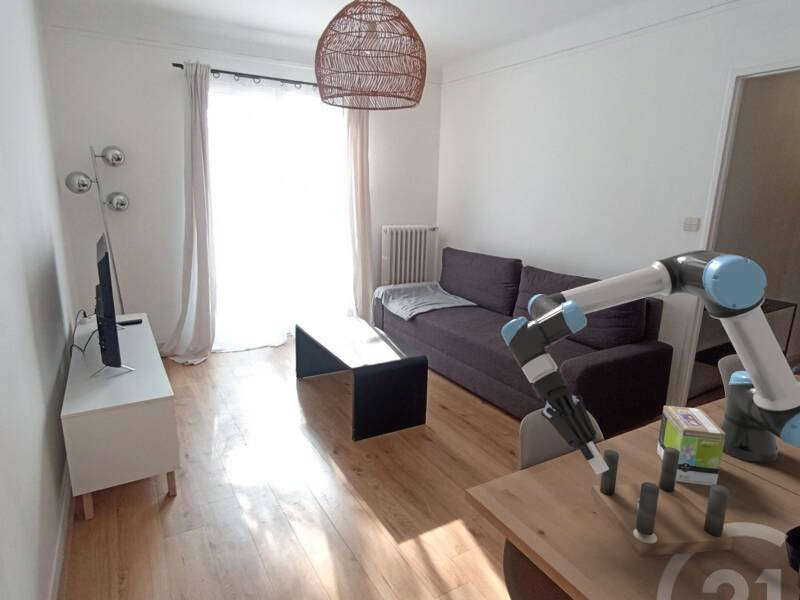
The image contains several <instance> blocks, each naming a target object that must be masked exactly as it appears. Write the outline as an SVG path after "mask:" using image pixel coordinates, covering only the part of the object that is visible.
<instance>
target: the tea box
mask: <svg viewBox="0 0 800 600" xmlns="http://www.w3.org/2000/svg"><path fill="white" fill-rule="evenodd" d="M661 414H662V415H661V422H660V429H659V435H658V442H657V449H656V453H657V454H658V456H659V457H660V458H661V460H662V461H663V454H664V448H666V447H671V448H675V449H677V450H678V451H679V452H680V454H679V461H678V468H677V474H676V481H675V482H680V483H685V484H687V483H688V484H693V485H703V486H710V487H711V485H713V484H717V483H718V478H719V473H720V472H719V471H720V467H721V461H722V457H723V446H724V441H725V433H724V432H723V431H722V430H721V429H720V427H719V425H718V424H717V423H715V422H714V421H713V419H712V418H711V417H710V416H708V414H707V413H706V412H705V411H704V410H703V409H702V408H694V407H684V406H683V407H682V406H674V405H673V406H672V405H663V409H662V413H661ZM717 485H718V484H717Z"/></svg>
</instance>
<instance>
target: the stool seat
mask: <svg viewBox="0 0 800 600" xmlns="http://www.w3.org/2000/svg"><path fill="white" fill-rule="evenodd" d="M679 454H680V452H679V451H678V450H677V449H675V448H671V447H666V448H664V454H663V460H662V461H661V462H662V463H661V467H660V468H661V470H660V476H659V482H658V481H657V482H652V483H653V484H655V485H657V486H658V487H659V496H658V503H657V510H656V517H655V524H654V531H653V534H652V535H651V537H650V536H646V535H643V534H639V533H638V531H637V529H636V523H637V499H639V498H640V493H641V485H642V483H643V482H640V483H622V484H616V483H617V476H618V475H617V474H618V467H619V466H618V465H619V458H620V455H619V453H618V452H617V451H615V450H614V449H613V450H611V449H606V450H604V451H603V456H602V458H603V459H604V461H605V463H606V464H607V466H608V467H609V469H608V470H607V471H605V472H602V473H601V476H600V484H599V485H592V486H591V492H590V496H591V497H592V499H593V500H594V501H595V502H596V504H597V505H598V506H599V507H600V508H601V510H602V511H603V512H604V513H605V515H606V516H607V517H608V519H609V520H610V521H611V522H612V524H614V526H615V528H617V530H618V531H619V532H620V534H621V535H622V536H623V538H624V539H625V540H626V541H627V542H628V544H629V545H630V546H631V547H632V549H633V550H634V551H635V552H636V554H637V555H638V556H639V557H643V556H657V555H658V556H659V555H672V554H674V555H675V554H687V553H689V554H690V553H703V552H714V551H715V552H716V551H717V552H718V551H731V550H732V548H733V542H734V539H733V538H732V536H730V535H729V534H728V533H727V532H726V531H725V530H724V526H725V525H724V524H725V520H726V519H725V518H726V514H727V508H728V502H729V496H730V490H729V489H728V488H727V487H725V486H724V485H721V484H713V485H711V486H710V487H709V488H710V489H709V494H708V500H707V506H706V507H707V508H706V513H705V512H704V511H703V510H701V508H699V507H698V506H697V505H696V504H695V503H694V502H693V501H691V500H690V498H688V497H687V495H685V494H683V492H681V491H680V490H679V489H678V488H677V487H676V482H677V481H676V474H677V468H678V461H679Z"/></svg>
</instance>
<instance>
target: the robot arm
mask: <svg viewBox="0 0 800 600" xmlns="http://www.w3.org/2000/svg"><path fill="white" fill-rule="evenodd" d="M767 284H768V283H767V277H766V273H765V272H764V270H763V268H762V267H761V266H760V265H759V264H757V262H755V261H754V260H751V259H749V258H747V257H744V256H741V255H738V254H727V253H721V252H717V251H716V252H715V251H711V250H706V249H704V250H703V249H699V250H692V251H686V252H682V253H680V254H675V255H671V256H669V257H666V258H662V259H658V260H655V261H653V262H652V263H651V265H649V266H647V267H645V268H640V269H638V270H634V271H633V270H632V271H631V272H630V271H629V272H627V273H623V274H619V275H617V276H613V277H610V278H605V279H602V280H598V281H596V282H591V283H588V284H585V285H580V286H578V287H574V288H571V289H567V290H564V291H560V292H556V293H552V294H543V293H539V294H536V295H533V297H531V298H530V300H529V301H528V304H527V311H528V314H529V315H530V317H531V320H529V319H528V318H527V317H525V316H518V317H517V318H514V319H512V320H510V321H508V322H507V323H506V324H504V326H503V327H502V329H501V336H502V338H503V340H504V341H505V344H506V346H507V347H508V349H509V351H510V352H511V354H512V355H513V357H514V359H515V360H516V362H517V363H518V366H519V367H520V369H521V370H522V371H523V374H524V375H525V377H526V379H527V380H528V382H529V383H530V384H532V385H531V386H532V387H531V388H532V389H533V391H534V392H535V394H536V396H537V398H538V399H542V401H543V404H544V410H542V411H541V413H540V414H541V416H542V417H543V418H544V419H546V420H547V421H548V422H549V423H550V424H551V425H552V427H553V428H554V429H555V430H556V432H557V433H559V435H560V436H561V437H562V438H563V440H564V441H565V442H566V444H567V445H568V446H569V447H570V448H572V447H573V448H574V449H579V450H580V452H581V454H582V455H583V456H584V459H585V461H588V463H589V464H590V466H591V467H592V470H593V471H594V473H595V474H596V476H598V475H600V474H602V472H605V471H607V470H608V469H609V467H608V466H607V464H606V463H605V461H604V459H603V456H602V454H601V451H600V449H599V448H598V447H597V444H596V443H595V442H594V440H596V438H597V437H596V436H597V432H596V429H595V427H594V425H593V423H592V420H591V419H590V415H589V414H588V411H587V410H586V407H585V404H584V400H583V396H582V395H580V394H579V395H573V394H572V392H571V391H570V390H569V389H568V388H567V385H568V382H567V380H566V379H565V377H564V375H563V374H562V372H561V371H560V370H558V365H557V363H556V362H555V361H554V359H553V358H552V355H550V353H549V352H548V351H547V350H548V349H547V348H548V347H551V346H552V345H554V344H557V343H558V342H560V341H562V340H564V339H566V338H568V337H569V336H571V335H573V334H576V333H577V332H578V331H579V332H580V330H582V329H584V328H585V327H586V326H587V325H588V324H587V323H588V320H587V317H586V314H587V315H588V314H590V313H593V312H597V311H600V310H604V309H608V308H612V307H616V306H620V305H623V304H627V303H630V302H634V301H637V300H640V299H644V298H649V297H653V296H656V295H659V294H660V295H661V296H664V297H665V296H666V297H667V296H671V295H673V294H688V295H692V296H695V297H698V298H700V300H701V301H702V303H703V305H704V307H705V309H706V311H707V312H708V314H709V316H710V317H711V318H714V319H717V320H720V322H721V324H722V327H723V328H724V330H725V332H726V334H727V336H728V338H729V340H730V342H731V344H732V346H733V348H734V350H735V351H736V354H737V356H738V357H739V360H740V362H741V363H742V366H743V368H744V369H745V370H738V371H734V372H733V373H731V376H730V379H729V382H728V389H727V396H726V403H725V409H724V414H723V415H724V416H723V418H722V421H721V422H720V424H719V425H718V427H720V429H721V430H722V431H723V432H724V433H725V441H724V446H723V451H722V453H725V454H727V455H729V456H731V457H734V458H737V459H740V460H744V461H747V462H752V463H753V462H754V463H773V462H774V461H776V460H777V457H778V454H779V448H778V446H777V439H776V437H778V438H779V439H781V441H783V442H784V443H786V444H788V445H790V446H792V447H795V448H798V449H800V381H797V379H796V377H795V375H794V373H793V371H792V369H791V367H790V365H789V363H788V361H787V359H786V356H785V355H784V352H783V351H782V348H781V346H780V344H779V342H778V340H777V339H776V335H775V334H774V332H773V329H772V328H771V326H770V324H769V322H768V320H767V318H766V315H765V314H764V312H763V310H762V308H761V306H762V305H763V303H764V302H765V295H764V294H765V293H766V291H765V288H766V287H767Z"/></svg>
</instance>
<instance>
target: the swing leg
mask: <svg viewBox="0 0 800 600" xmlns="http://www.w3.org/2000/svg"><path fill="white" fill-rule="evenodd" d="M641 483H642V485H641V493H640V498H639V499H637V523H636V529H637V531H638V533H639V534H643V535H646V536H650V537H651V535H652V534H653V531H654V524H655V517H656V510H657V503H658V496H659V487H658V486H657V485H655V484H653V483H654V482H648V481H643V482H641Z"/></svg>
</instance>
